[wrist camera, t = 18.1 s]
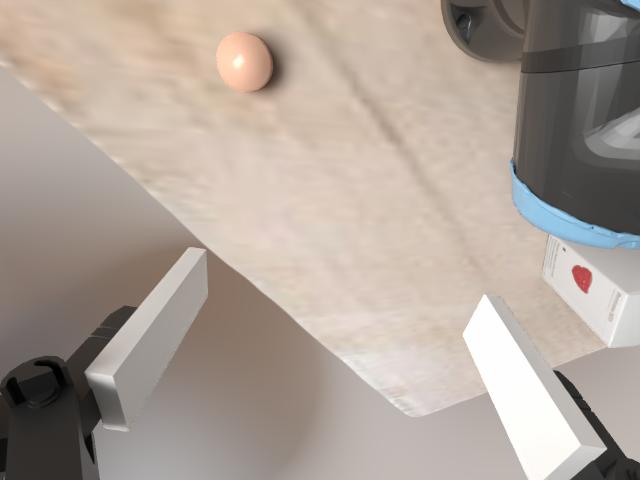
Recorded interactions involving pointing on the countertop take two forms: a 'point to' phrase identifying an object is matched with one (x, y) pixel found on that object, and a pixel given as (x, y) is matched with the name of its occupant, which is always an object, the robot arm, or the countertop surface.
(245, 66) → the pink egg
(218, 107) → the countertop surface
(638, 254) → the supplement box
